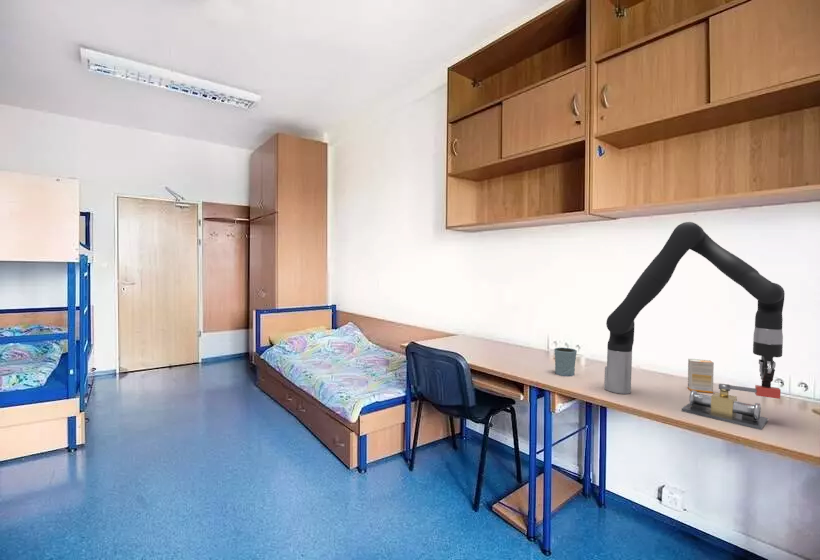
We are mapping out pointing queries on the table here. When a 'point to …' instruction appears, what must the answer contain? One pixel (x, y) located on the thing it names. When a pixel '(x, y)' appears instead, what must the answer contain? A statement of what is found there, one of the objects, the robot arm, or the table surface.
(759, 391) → the valve lever
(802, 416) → the table surface
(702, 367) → the supplement box
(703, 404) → the valve body
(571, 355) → the grey-green tapered cup
